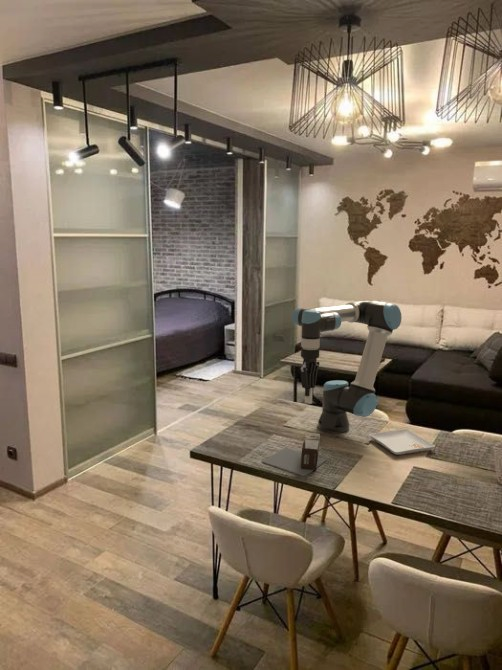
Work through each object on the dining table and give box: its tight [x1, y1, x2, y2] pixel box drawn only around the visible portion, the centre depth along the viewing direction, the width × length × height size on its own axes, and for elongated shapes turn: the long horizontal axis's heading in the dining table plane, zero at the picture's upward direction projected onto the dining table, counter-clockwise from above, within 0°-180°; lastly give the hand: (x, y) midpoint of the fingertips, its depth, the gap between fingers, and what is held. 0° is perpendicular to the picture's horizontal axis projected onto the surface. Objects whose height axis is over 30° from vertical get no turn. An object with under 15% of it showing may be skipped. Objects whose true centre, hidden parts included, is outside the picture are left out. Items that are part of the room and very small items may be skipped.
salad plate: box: [368, 428, 436, 456], centre depth 225 cm, size 21×21×3 cm
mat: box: [261, 446, 327, 478], centre depth 207 cm, size 18×20×1 cm
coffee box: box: [301, 432, 321, 471], centre depth 206 cm, size 9×6×16 cm
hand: (308, 402), depth 210 cm, fingers closed
